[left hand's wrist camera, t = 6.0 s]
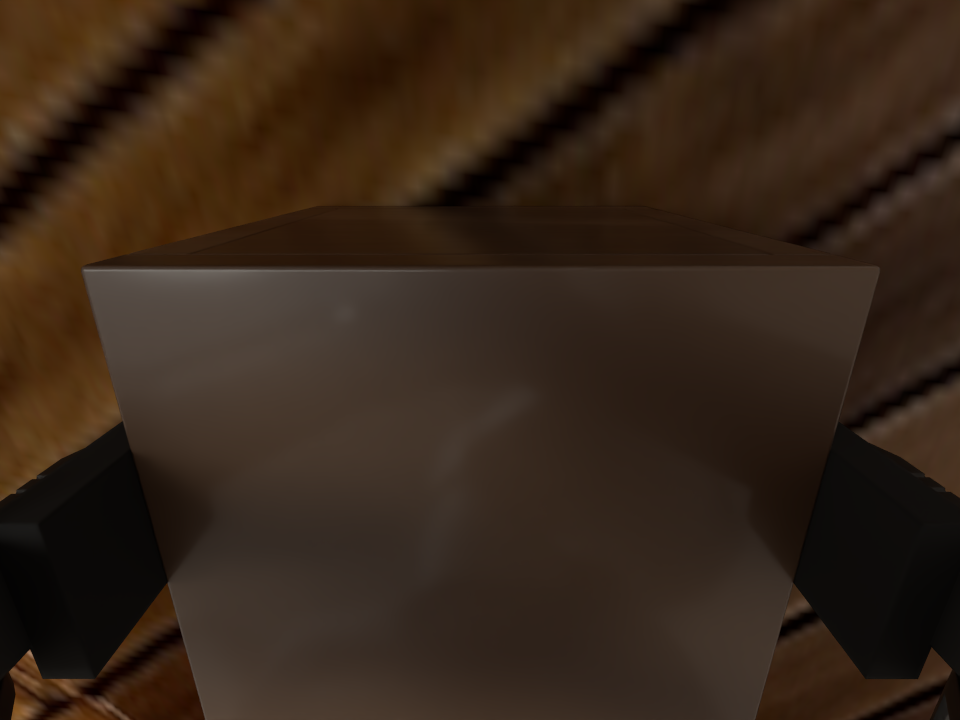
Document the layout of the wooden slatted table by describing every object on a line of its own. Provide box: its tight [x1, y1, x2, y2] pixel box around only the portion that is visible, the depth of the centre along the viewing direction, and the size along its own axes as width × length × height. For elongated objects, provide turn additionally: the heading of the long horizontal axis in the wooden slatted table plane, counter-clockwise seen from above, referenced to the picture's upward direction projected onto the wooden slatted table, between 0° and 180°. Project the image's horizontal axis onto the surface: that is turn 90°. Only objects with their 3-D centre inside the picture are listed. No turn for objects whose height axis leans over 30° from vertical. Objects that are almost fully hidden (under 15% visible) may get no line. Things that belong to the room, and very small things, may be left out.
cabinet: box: [81, 206, 880, 720], centre depth 15 cm, size 16×11×11 cm
